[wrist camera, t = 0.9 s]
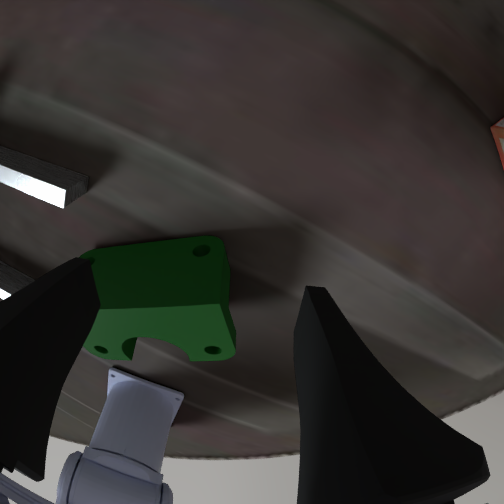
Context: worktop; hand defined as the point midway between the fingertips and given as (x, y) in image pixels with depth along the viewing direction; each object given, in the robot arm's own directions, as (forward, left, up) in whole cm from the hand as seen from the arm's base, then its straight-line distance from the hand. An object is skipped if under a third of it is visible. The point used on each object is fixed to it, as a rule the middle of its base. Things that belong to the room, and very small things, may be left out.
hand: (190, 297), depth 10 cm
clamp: (-8, +2, -10) cm, 13 cm away
